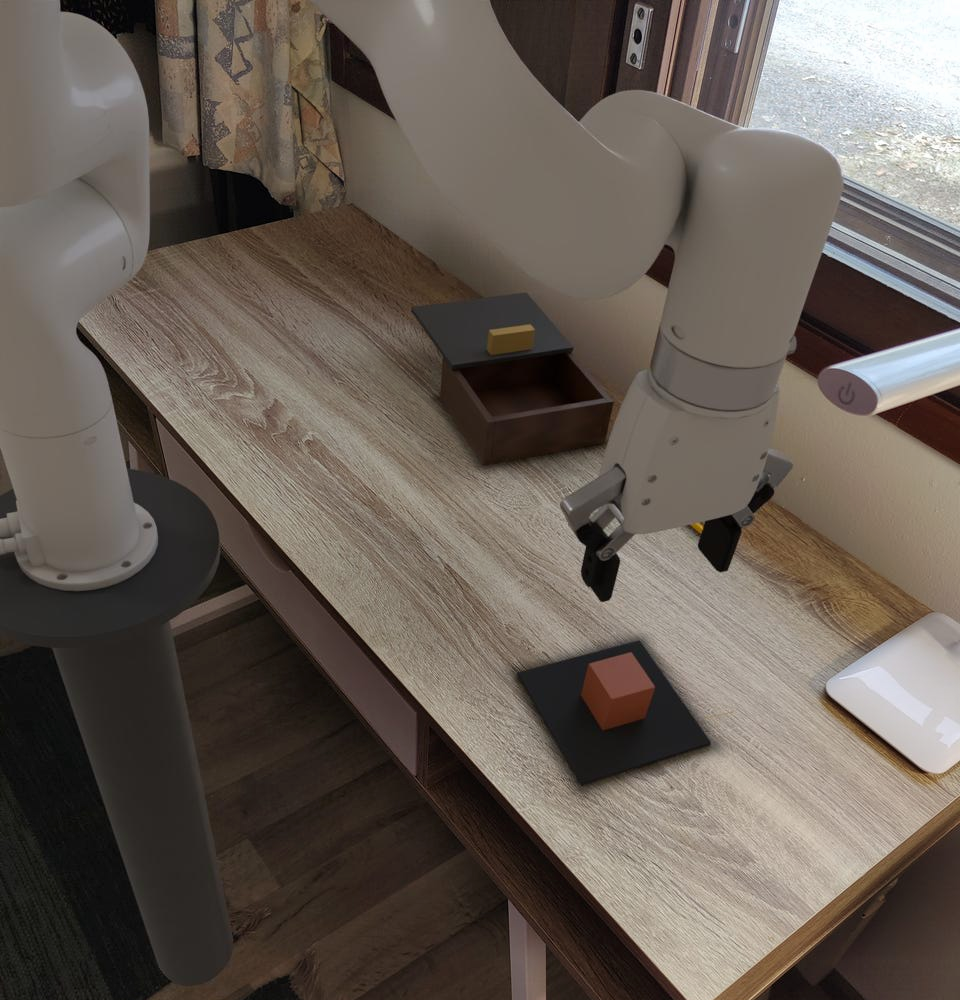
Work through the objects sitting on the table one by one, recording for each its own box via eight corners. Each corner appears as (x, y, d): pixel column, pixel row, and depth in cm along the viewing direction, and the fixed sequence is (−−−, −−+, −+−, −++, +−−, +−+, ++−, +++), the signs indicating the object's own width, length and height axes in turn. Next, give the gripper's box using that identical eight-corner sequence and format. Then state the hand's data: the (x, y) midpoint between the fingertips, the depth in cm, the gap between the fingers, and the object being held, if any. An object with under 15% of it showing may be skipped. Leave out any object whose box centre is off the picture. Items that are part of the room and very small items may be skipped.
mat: (580, 786, 77) (581, 783, 76) (517, 675, 84) (517, 672, 84) (710, 745, 81) (711, 742, 80) (638, 643, 88) (639, 639, 88)
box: (483, 465, 103) (488, 422, 100) (439, 399, 111) (442, 357, 107) (604, 443, 108) (614, 401, 104) (555, 381, 116) (561, 339, 112)
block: (602, 730, 80) (611, 699, 77) (580, 695, 83) (588, 663, 80) (645, 718, 81) (655, 687, 79) (621, 683, 84) (631, 651, 81)
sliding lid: (451, 369, 105) (453, 344, 103) (411, 311, 113) (412, 286, 111) (572, 351, 110) (577, 327, 108) (525, 296, 118) (529, 273, 116)
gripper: (797, 313, 64) (727, 518, 76) (558, 350, 58) (524, 565, 70) (871, 374, 59) (783, 582, 71) (618, 421, 53) (571, 637, 66)
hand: (655, 573), depth 71 cm, fingers open, 9 cm apart
